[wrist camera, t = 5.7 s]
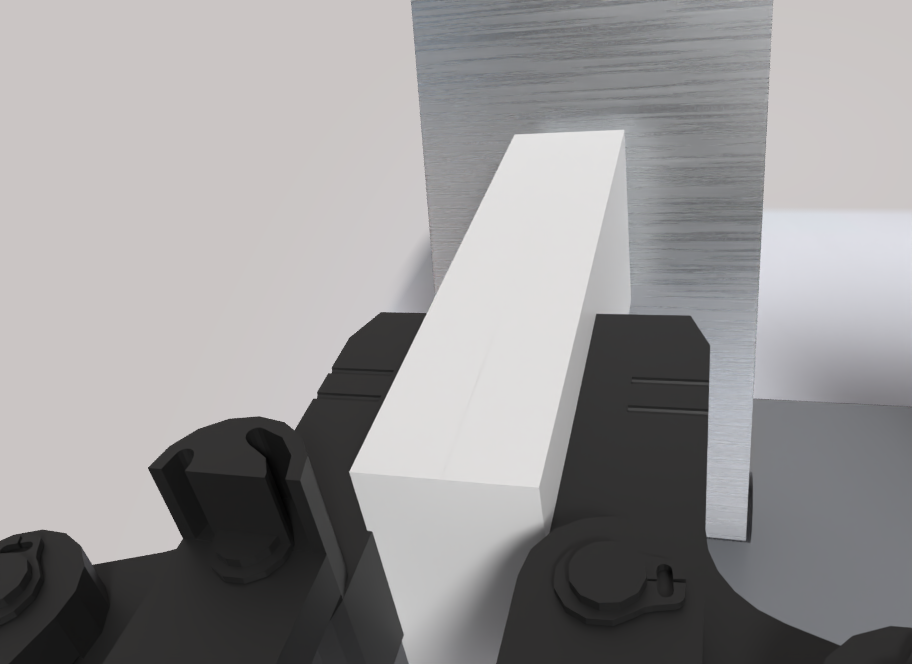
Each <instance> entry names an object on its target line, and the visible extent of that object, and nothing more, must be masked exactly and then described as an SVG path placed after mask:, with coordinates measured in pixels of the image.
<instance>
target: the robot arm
mask: <svg viewBox="0 0 912 664" xmlns="http://www.w3.org/2000/svg"><path fill="white" fill-rule="evenodd" d="M630 303H631V286H630V260H629V234H628V208H627V182H626V156H625V130H606V131H583V132H560V133H537V134H515V135H514V137H513V139H512V141H511V143H510V145H509V147H508V149H507V151H506V153H505V155H504V157H503V159H502V161H501V163H500V165H499V167H498V169H497V171H496V173H495V175H494V177H493V180H492V182H491V184H490V186H489V188H488V190H487V192H486V194H485V196H484V198H483V200H482V202H481V204H480V206H479V208H478V210H477V212H476V214H475V216H474V218H473V220H472V222H471V224H470V226H469V229H468V231H467V233H466V235H465V237H464V239H463V241H462V243H461V245H460V247H459V249H458V251H457V253H456V255H455V257H454V259H453V261H452V263H451V265H450V267H449V269H448V271H447V273H446V275H445V278H444V280H443V282H442V284H441V286H440V288H439V290H438V292H437V294H436V296H435V298H434V300H433V302H432V304H431V306H430V308H429V310H428V312H427V313H388V312H381V313H380V314H378V315H377V316H376V317H375V318H373V319H372V320H371V321H370V322H368V323H367V324H366V325H365V326H364V327H362V328H361V329H360V330H359V331H357V332H356V333H355V334H354V335H352V336H351V337H350V338H349V340H348V341H347V343H346V345H345V346H344V348H343V350H342V351H341V353H340V355H339V356H338V358H337V360H336V361H335V363H334V365H333V367H332V374H330V373H328V375H327V377H326V378H325V380H324V382H323V384H322V385H321V387H320V388H319V390H318V392H317V394H318V396H317V399H313V400H312V402H311V404H310V405H309V407H308V409H307V410H306V412H305V414H304V416H303V417H302V419H301V421H300V422H299V424H298V426H297V427H296V429H295V431H294V430H293V429H292V428H291V427H289V426H288V425H287V424H286V423H285V422H280V421H276V420H272V419H268V418H263V417H247V418H234V419H228V420H224V421H222V422H218V423H215V424H212V425H209V426H206V427H203V428H200V429H198V430H196V431H195V432H193V433H191V434H189V435H188V436H186V437H184V438H183V439H181V440H179V441H178V442H176V443H174V444H173V445H171V446H170V447H169V448H168V449H166V450H165V452H164V453H162V454H161V456H159V457H158V458H157V459H156V460H155V461H154V462H153V463H152V464H151V466H149V467H148V469H149V471H150V473H151V475H152V477H153V479H154V481H155V483H156V485H157V487H158V489H159V491H160V493H161V495H162V497H163V499H164V501H165V503H166V505H167V507H168V509H169V511H170V513H171V515H172V517H173V519H174V521H175V523H176V525H177V527H178V529H179V531H180V533H181V535H182V537H183V540H182V541H181V543H180V545H179V546H178V548H177V549H174V550H171V551H167V552H163V553H157V554H152V555H146V556H140V557H135V558H129V559H124V560H118V561H113V562H107V563H101V564H95V565H92V564H91V562H90V561H89V559H88V557H87V556H86V554H85V552H84V551H83V549H82V547H81V546H80V545H79V544H78V543H77V542H75V541H74V540H73V539H72V538H71V537H70V536H68V535H67V534H66V533H60V532H54V531H47V530H38V531H33V532H27V533H22V534H16V535H13V536H10V537H8V538H6V539H3V540H1V541H0V664H394V662H395V660H396V657H397V654H398V651H399V648H400V645H401V642H402V644H403V647H404V650H405V653H406V656H407V660H408V663H409V664H912V628H910V627H898V626H888V627H884V628H880V629H876V630H873V631H869V632H865V633H861V634H857V635H853V636H852V637H850V638H849V639H848V640H847V641H846V642H844V643H843V644H842V645H841V646H840V645H838V644H835V643H833V642H830V641H828V640H825V639H823V638H820V637H818V636H815V635H813V634H810V633H808V632H805V631H803V630H801V629H798V628H796V627H793V626H791V625H788V624H786V623H784V622H782V621H780V620H778V619H776V618H774V617H772V616H770V615H768V614H766V613H764V612H762V611H760V610H758V609H757V608H756V607H754V606H753V605H752V604H750V603H749V602H748V601H747V600H745V599H744V598H743V597H742V596H740V595H739V594H738V593H736V592H735V591H734V590H733V588H732V587H731V586H730V585H729V584H728V582H727V581H726V580H725V579H724V578H723V576H722V575H721V574H720V573H719V571H718V570H717V568H716V565H715V563H714V561H713V559H712V557H711V555H710V552H709V550H708V544H707V537H706V530H705V527H706V489H707V451H708V413H709V375H710V344H709V343H708V341H707V340H706V338H705V337H704V335H703V334H702V332H701V331H700V329H699V328H698V326H697V325H696V323H695V321H694V320H693V318H692V317H691V316H690V315H638V314H629V309H630Z"/></svg>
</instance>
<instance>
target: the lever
mask: <svg viewBox="0 0 912 664" xmlns="http://www.w3.org/2000/svg"><path fill="white" fill-rule="evenodd" d="M411 5H412V18H413V29H414V30H413V31H414V43H415V55H416V68H417V79H418V92H419V105H420V117H421V129H422V140H423V154H424V166H425V177H426V190H427V203H428V214H429V227H430V240H431V252H432V264H433V276H434V289H435V296H436V294H437V292H438V290H439V288H440V286H441V284H442V282H443V280H444V278H445V275H446V273H447V271H448V269H449V267H450V265H451V263H452V261H453V259H454V257H455V255H456V253H457V251H458V249H459V247H460V245H461V243H462V241H463V239H464V237H465V235H466V233H467V231H468V229H469V226H470V224H471V222H472V220H473V218H474V216H475V214H476V212H477V210H478V208H479V206H480V204H481V202H482V200H483V198H484V196H485V194H486V192H487V190H488V188H489V186H490V184H491V182H492V180H493V177H494V175H495V173H496V171H497V169H498V167H499V165H500V163H501V161H502V159H503V157H504V155H505V153H506V151H507V149H508V147H509V145H510V143H511V141H512V139H513V137H514V135H515V134H537V133H560V132H583V131H606V130H625V156H626V182H627V208H628V234H629V260H630V286H631V303H630V309H629V314H638V315H690V316H691V317H692V318H693V320H694V321H695V323H696V325H697V326H698V328H699V329H700V331H701V332H702V334H703V335H704V337H705V338H706V340H707V341H708V343H709V344H710V375H709V413H708V451H707V489H706V527H705V530H706V537H707V539H715V540H725V541H735V542H745V543H750V542H751V534H752V515H753V476H752V472H749V468H750V448H751V428H752V409H753V389H754V369H755V349H756V329H757V310H758V290H759V270H760V250H761V230H762V211H763V191H764V190H763V189H764V171H765V151H766V132H767V112H768V92H769V91H768V90H769V71H770V52H771V32H772V12H773V0H411Z"/></svg>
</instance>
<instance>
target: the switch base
mask: <svg viewBox="0 0 912 664" xmlns="http://www.w3.org/2000/svg"><path fill="white" fill-rule="evenodd" d="M749 472H752V476H753V515H752V534H751V542H750V543H745V542H735V541H725V540H715V539H707V544H708V550H709V552H710V555H711V557H712V559H713V561H714V563H715V565H716V568H717V570H718V571H719V573H720V574H721V575H722V576H723V578H724V579H725V580H726V581H727V582H728V584H729V585H730V586H731V587H732V588H733V590H734V591H735V592H736V593H738V594H739V595H740V596H742V597H743V598H744V599H745V600H747V601H748V602H749V603H750V604H752V605H753V606H754V607H756V608H757V609H758V610H760V611H762V612H764V613H766V614H768V615H770V616H772V617H774V618H776V619H778V620H780V621H782V622H784V623H786V624H788V625H791V626H793V627H796V628H798V629H801V630H803V631H805V632H808V633H810V634H813V635H815V636H818V637H820V638H823V639H825V640H828V641H830V642H833V643H835V644H838V645H840V646H841V645H842V644H843V643H844V642H846V641H847V640H848V639H849V638H850V637H852V636H853V635H857V634H861V633H865V632H869V631H873V630H876V629H880V628H884V627H888V626H898V627H910V628H912V407H908V406H888V405H869V404H849V403H830V402H810V401H791V400H771V399H753V409H752V428H751V448H750V468H749ZM394 664H409V663H408V660H407V656H406V653H405V650H404V647H403V644H402V642H401V645H400V648H399V651H398V654H397V657H396V660H395V662H394Z"/></svg>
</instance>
